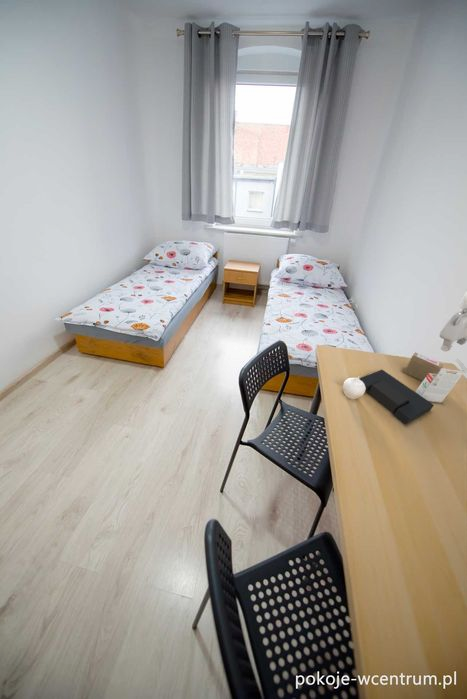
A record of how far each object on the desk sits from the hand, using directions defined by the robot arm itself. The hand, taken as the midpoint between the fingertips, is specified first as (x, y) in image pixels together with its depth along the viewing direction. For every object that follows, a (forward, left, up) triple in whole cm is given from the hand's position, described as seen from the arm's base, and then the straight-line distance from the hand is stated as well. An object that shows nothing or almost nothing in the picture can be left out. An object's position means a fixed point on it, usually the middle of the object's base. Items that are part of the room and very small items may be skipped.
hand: (452, 346), depth 83 cm
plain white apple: (+12, +20, -24) cm, 33 cm away
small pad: (+5, +10, -23) cm, 26 cm away
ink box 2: (-1, -6, -24) cm, 24 cm away
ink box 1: (+8, -15, -24) cm, 29 cm away
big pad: (+5, +7, -23) cm, 25 cm away
